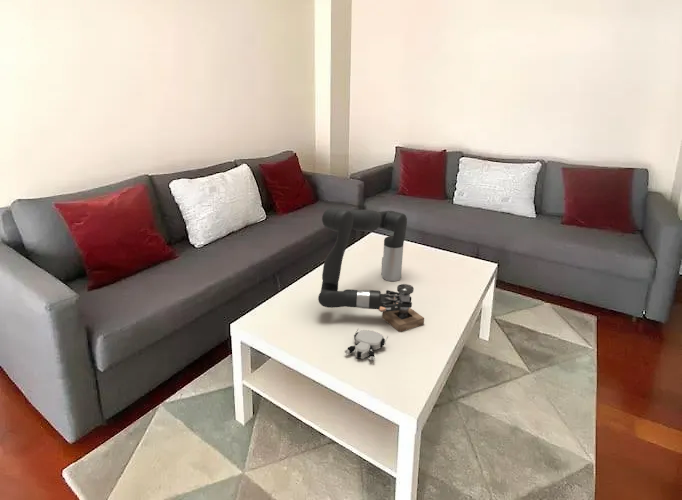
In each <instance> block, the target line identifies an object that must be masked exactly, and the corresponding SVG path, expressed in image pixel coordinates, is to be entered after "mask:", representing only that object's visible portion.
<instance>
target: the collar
mask: <svg viewBox="0 0 682 500" xmlns="http://www.w3.org/2000/svg"><path fill="white" fill-rule="evenodd" d="M398 311H399V310H397V311H388V312H387V311H382V312H381V313H382V314H381V315H382V316H381V317H382V320H384V321H385V322H386V323H388V324H389V325H390V326H391V327H393V328H394V329H395V330H397V332H399V333H402V332H404V331H407V330H410V329H414V328H417V327H420V326H423V325H424V324H425V317H424V316H423V315H421V314H419V313H418V312H417V311H415V309H412V307H411V308H409V312H408V318H406V319H400V318H399V317H398Z"/></svg>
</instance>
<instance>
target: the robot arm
mask: <svg viewBox="0 0 682 500" xmlns="http://www.w3.org/2000/svg"><path fill="white" fill-rule="evenodd" d="M321 221H322V224H323V227H325V228H326V229H327V230H329V231H333V232H336V233H337V237H336V241H335V243H334V244H333V245H334V246H333V247H332V248H331V249H330V251H329V253H328V254H327V255H326V257H325V258H324V259H325V260H324V263H323V268H322V274H321V276H322V277H321V278H322V282H321V289H320V293H319V294H318V298H317V300H318V303H319V304H320V305H321V306H322V307H324V308H343V307H345V308H346V307H347V308H358V309H366V310H378V309H380V307H385V308H386V311H387V312H388V311H397V310H400V308H402V307H408V308H411V309H412V305H413V303H412V302H413V301H412V296H410V301H409V302H404V301H399V298H400V293H399V292H398V291H393V290H388V289H387V290H386V291H385V293H382V292H381V290H373V289H344V290H339V281H340V276H341V270H342V265H343V259H344V255H345V253H346V248H347V246H348V243H349V239H350V236H351V232H352V230H353V231H360V232H374V231H376V230H378V229H379V228H380V229H383V230H386V231H390V232H393V235H388V236H386V237H384V240H383V255H382V257H381V258H382V259H381V272H380V273H381V274H380V275H381V278H382V279H383V280H386V281H389V282H397V281H400V280H401V279H402V271H403V270H402V268H403V255H404V254H403V253H404V243H405V239H406V234H407V232H406V231H407V225H408V224H407V223H408V217H407V215H406V214H405V213H402V212H398V211H394V210H384V211H377V210H373V209H345V208H339V207H333V206H332V207H329V208H327V209H326V210H325V211H324V212H323V214H322V217H321ZM396 303H398V304H396Z"/></svg>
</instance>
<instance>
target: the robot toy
mask: <svg viewBox="0 0 682 500" xmlns="http://www.w3.org/2000/svg"><path fill="white" fill-rule="evenodd" d="M358 330H359V328H357V329H356V331H355V334H353V339H354V341H355V345H351V346H348V347H347V349H345V350H344V353H345V354H347V355H348V354H352V353H353V352H354V354H355V357H356V358H357V359H362V360H363V359H365V358H367V357H369V360H370V361H375V359H376V358H375V351H374V350H378V349H380V348H382V347H384V345H386V343H387V340H388V338H389V335H386V339H385V338H384V337H385V336H384V335H383V334H381V333H380V332H377V331H374V330H370V329H360V330H359V331H358Z"/></svg>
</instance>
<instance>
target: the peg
mask: <svg viewBox="0 0 682 500" xmlns="http://www.w3.org/2000/svg"><path fill="white" fill-rule="evenodd" d="M396 292H398V293H400V298H399V301H404V302H409V301H410V297H411V295H412V294H413V293H414V286H413V285H410V284H407V283H403V284H402V283H401V284H398V285H397V288H396ZM408 312H409V308H408V307H402V308H400V310H399V311H398V317H399V318H400V319H406V318H408Z"/></svg>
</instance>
